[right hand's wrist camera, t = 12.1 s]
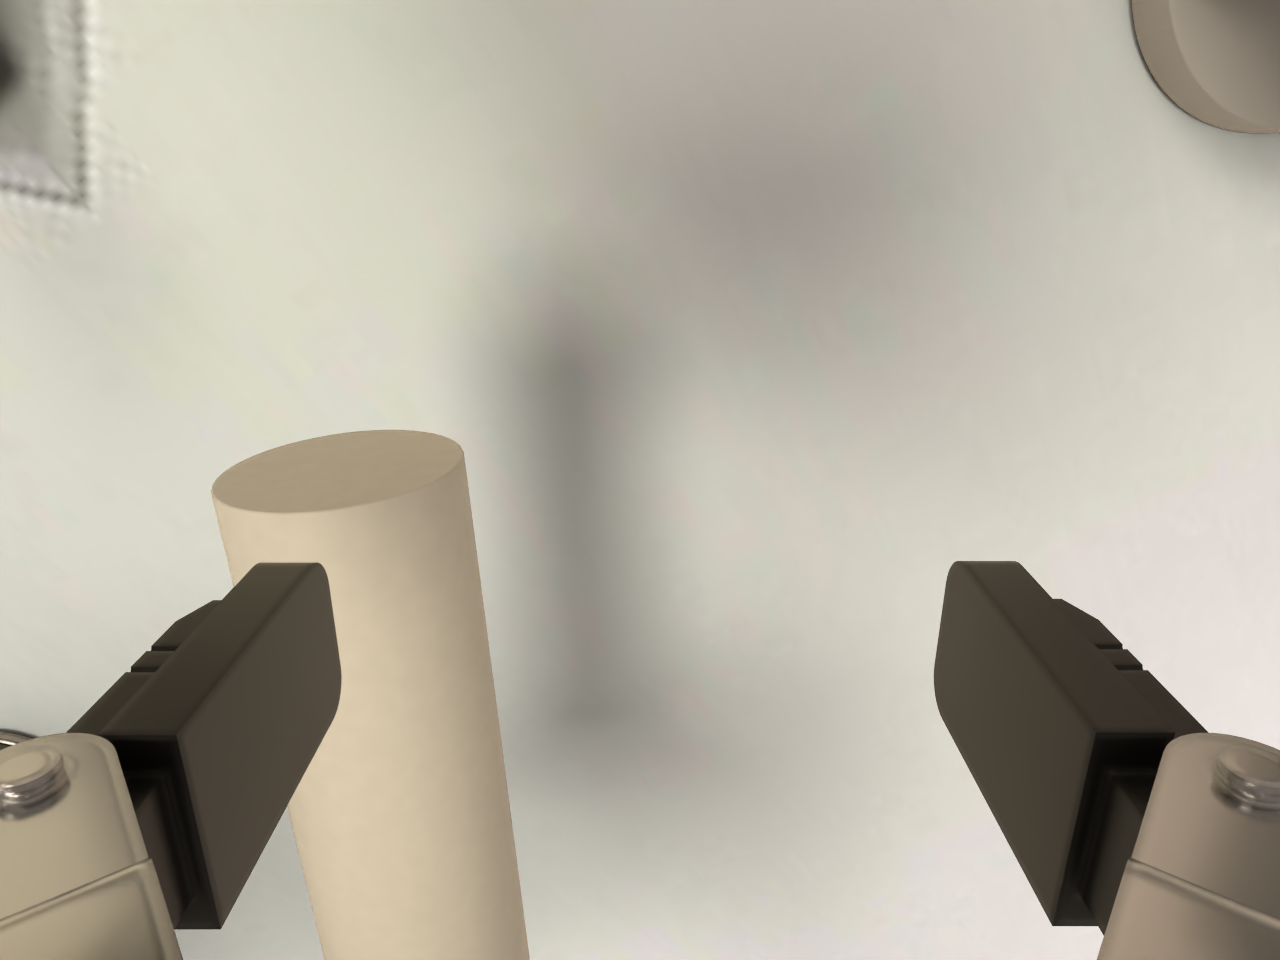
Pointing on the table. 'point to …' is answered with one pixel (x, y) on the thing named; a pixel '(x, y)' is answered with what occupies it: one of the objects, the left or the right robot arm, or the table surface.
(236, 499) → the rod
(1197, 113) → the bust sculpture
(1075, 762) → the right robot arm
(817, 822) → the table surface
